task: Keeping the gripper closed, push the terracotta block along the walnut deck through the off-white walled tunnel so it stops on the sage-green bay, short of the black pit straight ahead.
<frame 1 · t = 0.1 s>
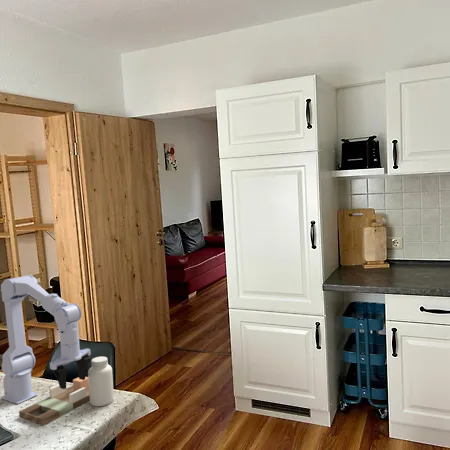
hand: (72, 383, 144), 10 cm above the table, tool pointing down, fingers open, 7 cm apart
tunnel: (68, 402, 153), resting on deck
deck: (61, 406, 150), on the table
block: (81, 389, 158), point 2 cm above the table, touching deck
pill bottle: (102, 402, 152), on the table
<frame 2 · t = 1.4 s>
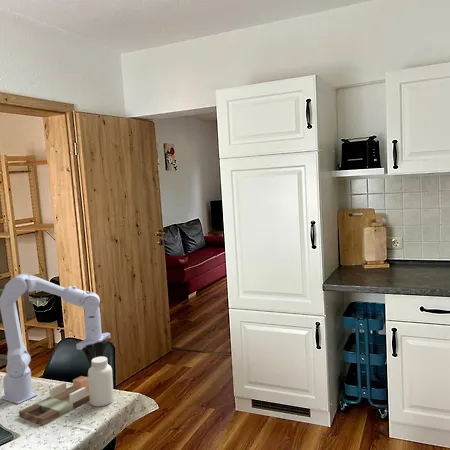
hand: (95, 362, 163), 9 cm above the table, tool pointing down, fingers open, 3 cm apart
nothing on the table moved.
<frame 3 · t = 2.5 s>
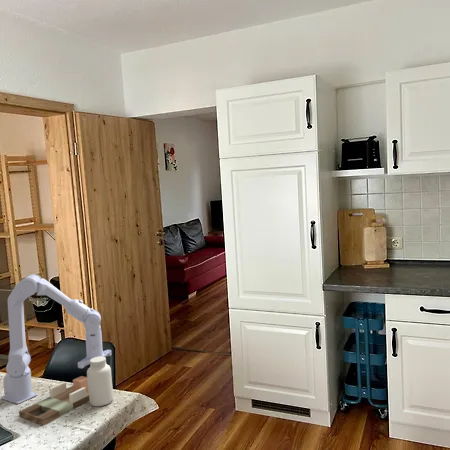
hand: (96, 380, 164), 3 cm above the table, tool pointing down, fingers closed
nothing on the table moved.
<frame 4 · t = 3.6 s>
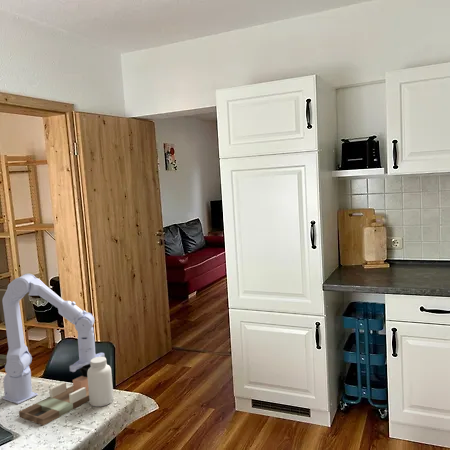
hand: (89, 384, 161), 3 cm above the table, tool pointing down, fingers closed
block: (81, 389, 158), point 2 cm above the table, touching deck, gripper
everything else where it was.
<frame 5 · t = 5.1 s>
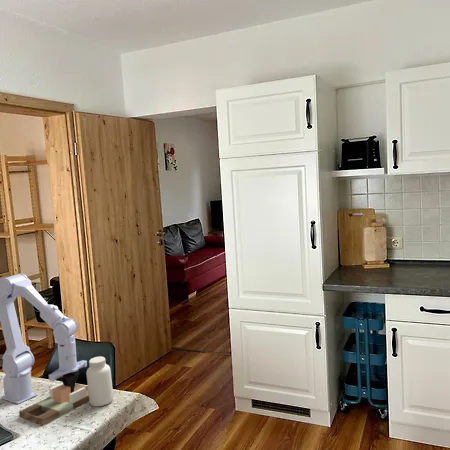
hand: (70, 393, 154), 3 cm above the table, tool pointing down, fingers closed
block: (62, 399, 151), point 2 cm above the table, touching gripper
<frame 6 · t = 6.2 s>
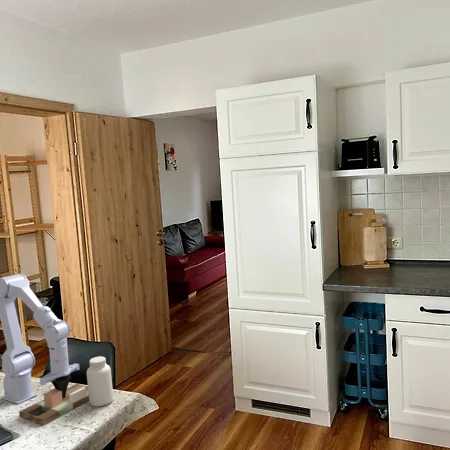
hand: (62, 397, 151), 3 cm above the table, tool pointing down, fingers closed
block: (53, 404, 148), point 2 cm above the table, touching deck, gripper
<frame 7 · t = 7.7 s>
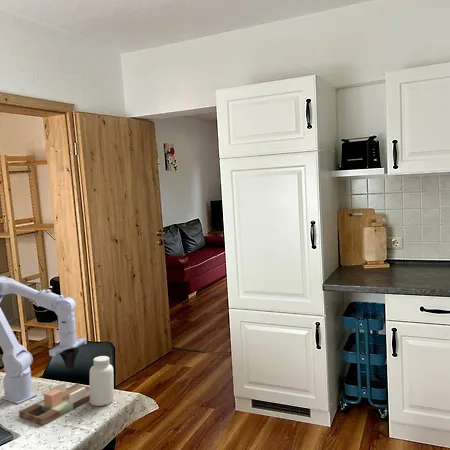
hand: (70, 369, 158), 9 cm above the table, tool pointing down, fingers closed
block: (53, 404, 148), point 2 cm above the table, touching deck
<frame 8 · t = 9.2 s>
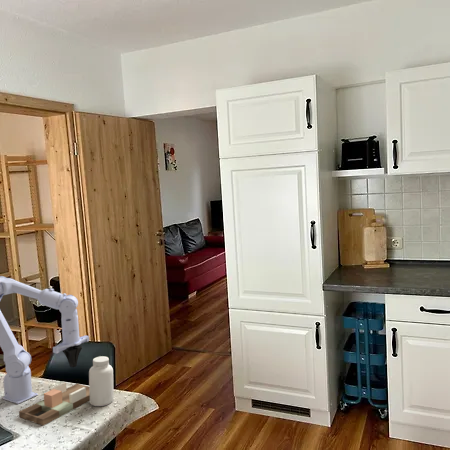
hand: (73, 366, 161), 9 cm above the table, tool pointing down, fingers closed
at the end: block 0.6 cm from the target spot, point 2.0 cm above the table; block tilted 0°; block moved 12.0 cm from its start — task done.
